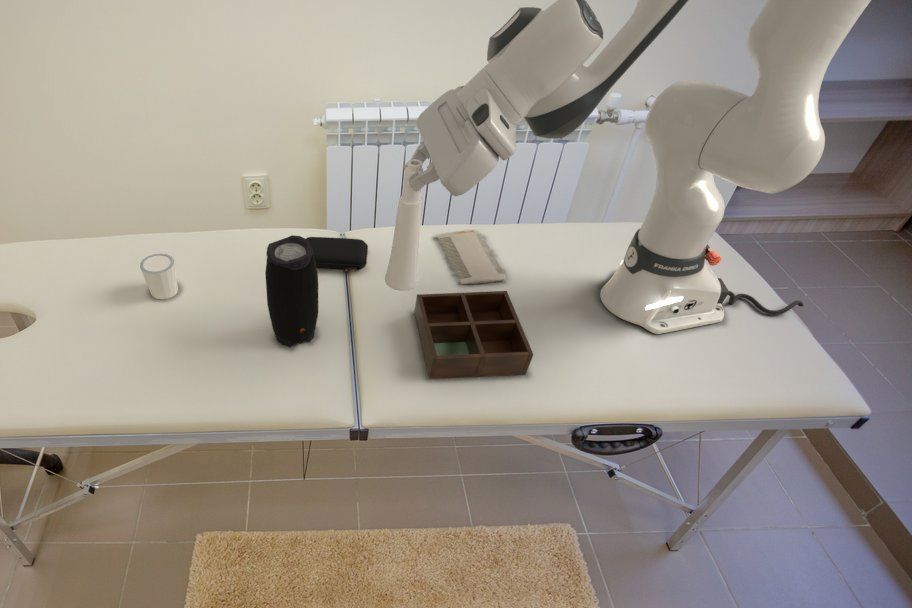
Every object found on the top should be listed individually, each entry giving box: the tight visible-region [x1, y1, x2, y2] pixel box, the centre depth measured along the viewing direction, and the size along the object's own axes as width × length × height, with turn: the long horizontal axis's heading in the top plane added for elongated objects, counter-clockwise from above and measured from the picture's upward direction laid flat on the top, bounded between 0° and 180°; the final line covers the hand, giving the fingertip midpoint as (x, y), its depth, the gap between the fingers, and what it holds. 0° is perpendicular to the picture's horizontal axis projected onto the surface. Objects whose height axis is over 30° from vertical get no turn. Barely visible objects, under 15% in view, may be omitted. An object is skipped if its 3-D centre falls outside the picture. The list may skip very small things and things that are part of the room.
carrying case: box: [305, 236, 369, 273], centre depth 124 cm, size 11×3×15 cm
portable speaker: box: [264, 235, 319, 348], centre depth 102 cm, size 9×9×20 cm
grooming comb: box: [436, 229, 507, 285], centre depth 124 cm, size 18×10×1 cm, turn 9°
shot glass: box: [139, 253, 179, 300], centre depth 116 cm, size 7×7×7 cm
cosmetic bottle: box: [384, 159, 424, 292], centre depth 93 cm, size 6×6×22 cm
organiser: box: [413, 290, 534, 380], centre depth 105 cm, size 17×17×5 cm
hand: (409, 179), depth 87 cm, fingers closed on cosmetic bottle, 3 cm apart
